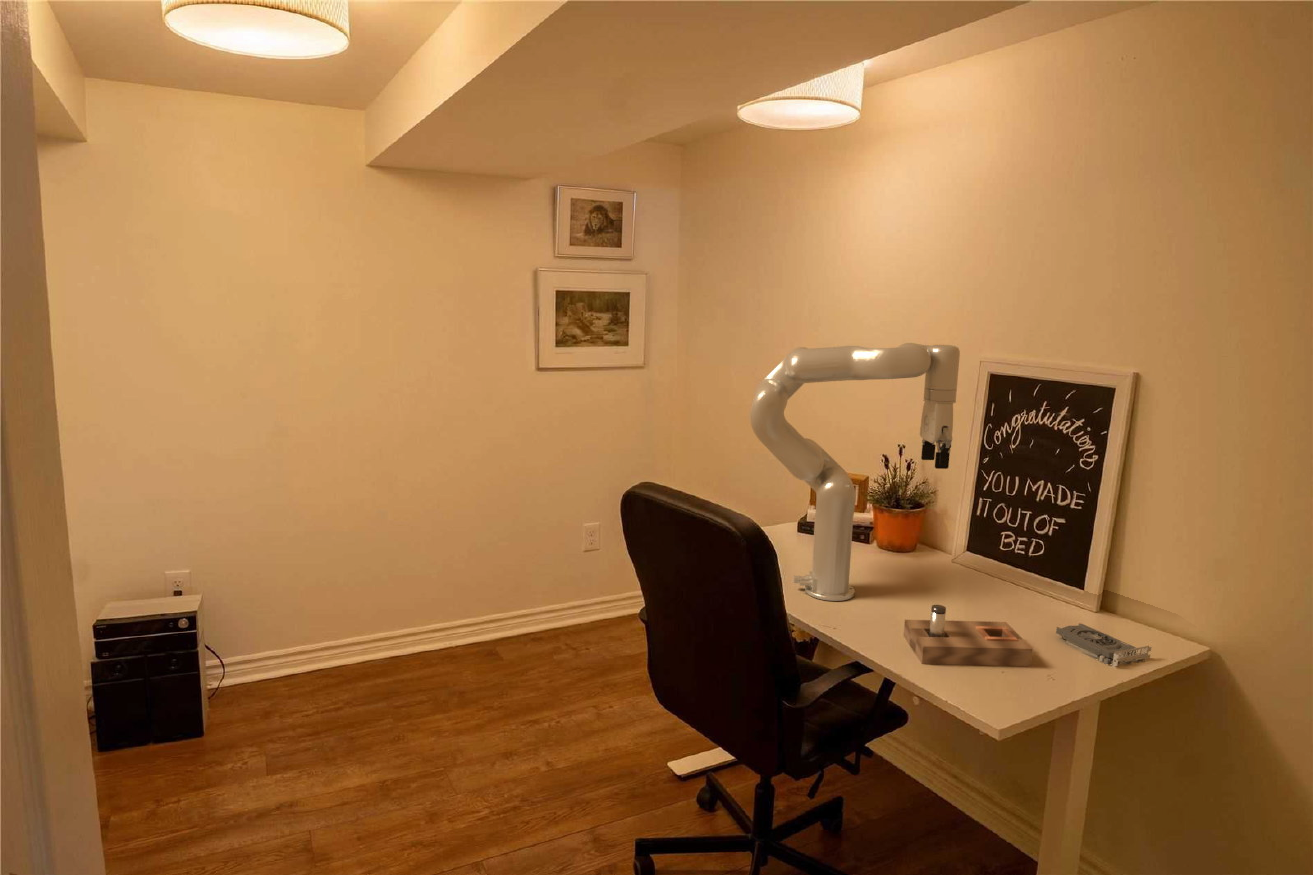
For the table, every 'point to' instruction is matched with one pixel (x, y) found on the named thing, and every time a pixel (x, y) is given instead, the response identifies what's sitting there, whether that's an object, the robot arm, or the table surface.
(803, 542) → the table surface
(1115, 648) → the graphics card
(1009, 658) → the pin board
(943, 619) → the lock pin
